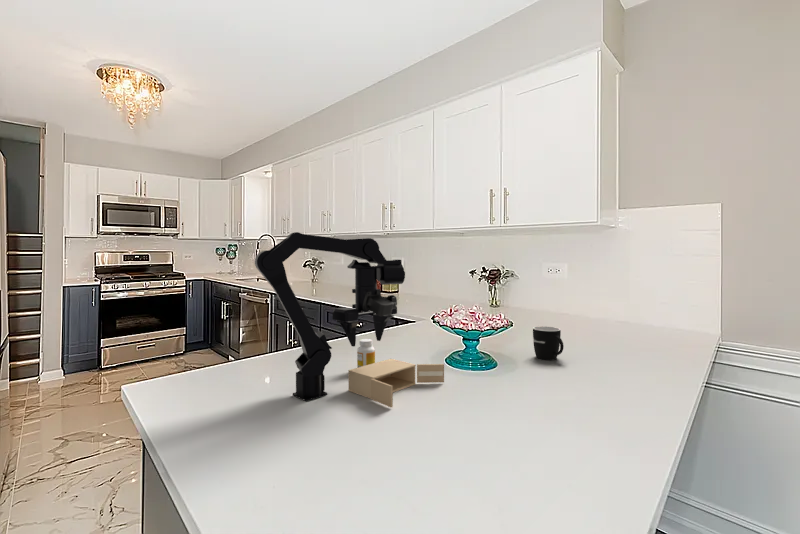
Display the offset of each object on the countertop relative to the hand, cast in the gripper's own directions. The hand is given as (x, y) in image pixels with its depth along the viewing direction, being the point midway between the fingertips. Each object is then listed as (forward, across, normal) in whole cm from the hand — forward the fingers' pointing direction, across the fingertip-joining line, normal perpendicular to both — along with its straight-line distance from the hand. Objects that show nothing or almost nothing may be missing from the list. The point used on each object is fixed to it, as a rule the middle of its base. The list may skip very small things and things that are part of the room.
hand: (366, 343), depth 113 cm
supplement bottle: (+12, +10, +11) cm, 19 cm away
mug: (+12, +62, -24) cm, 68 cm away
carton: (+12, +3, -4) cm, 13 cm away
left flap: (+12, -6, -12) cm, 18 cm away
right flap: (+12, +14, -11) cm, 21 cm away
